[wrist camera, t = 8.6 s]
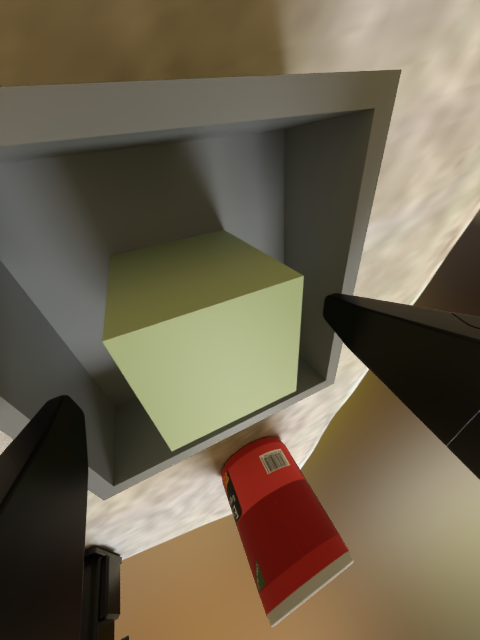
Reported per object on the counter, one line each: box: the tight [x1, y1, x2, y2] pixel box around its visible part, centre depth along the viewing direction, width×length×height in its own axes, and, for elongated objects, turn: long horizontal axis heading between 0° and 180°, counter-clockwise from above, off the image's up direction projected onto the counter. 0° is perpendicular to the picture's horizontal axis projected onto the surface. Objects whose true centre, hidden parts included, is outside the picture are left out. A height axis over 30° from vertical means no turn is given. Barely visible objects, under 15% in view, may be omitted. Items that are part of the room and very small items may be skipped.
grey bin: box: [0, 70, 401, 500], centre depth 10 cm, size 13×13×5 cm
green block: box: [102, 230, 304, 451], centre depth 9 cm, size 5×5×6 cm
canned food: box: [222, 437, 354, 627], centre depth 22 cm, size 8×8×11 cm
